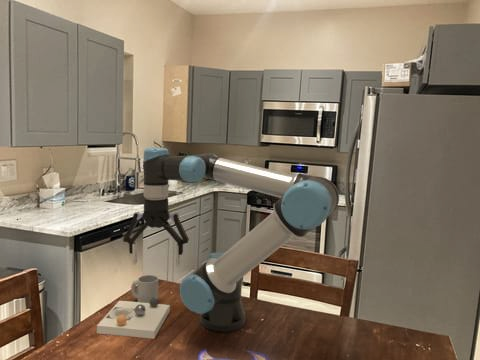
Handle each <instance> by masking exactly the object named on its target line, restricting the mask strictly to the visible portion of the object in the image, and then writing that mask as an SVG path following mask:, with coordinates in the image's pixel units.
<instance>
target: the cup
mask: <svg viewBox="0 0 480 360" xmlns="http://www.w3.org/2000/svg"><path fill="white" fill-rule="evenodd" d="M130 288H131V290H130V291H131V295H132V296H133V297H134V298H136V299H137V302H141V303H149V302H150V299H152V298H157V299H158V300H159V277H158V276H156V275H152V274H151V275H150V274H146V275H140V276H139V277H138V279H136V280H134V281H132V283H131V287H130ZM136 288H137V291H136Z"/></svg>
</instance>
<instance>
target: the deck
mask: <svg viewBox="0 0 480 360" xmlns="http://www.w3.org/2000/svg"><path fill="white" fill-rule="evenodd" d="M140 304H141V305H144V306H145V308H146V311H145V313H144V314H143V315H141V316H138V315H136V314H135V307H136V306H137V305H140ZM170 306H171V305H170V304H162V303H158V305H157V306H155V307H152V306H151V305H150V303H141V302H138V301H130V300H129V301H126V300H118V302H116V304H115V305H114V306H113V307H112V308H111V309H110V311H108V313H107V314H106V315H105V316H104V317H103V318H102V319H101V320H100V322H99V323H97V325H96V334H99V335H101V334H102V335H111V336H121V337H131V338H140V339H141V338H144V339H153V340H154V339H155V338H156V337H157V335H158V332H159V331H160V329H161V328H162V326H163V323H164V322H165V320H166V319H167V317H168V315H169V313H170V311H171V310H170V308H171V307H170ZM120 315H124V316H126V318H127V321H126V323H125V324H124V325H119V324H118V323H117V317H118V316H120Z"/></svg>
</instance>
